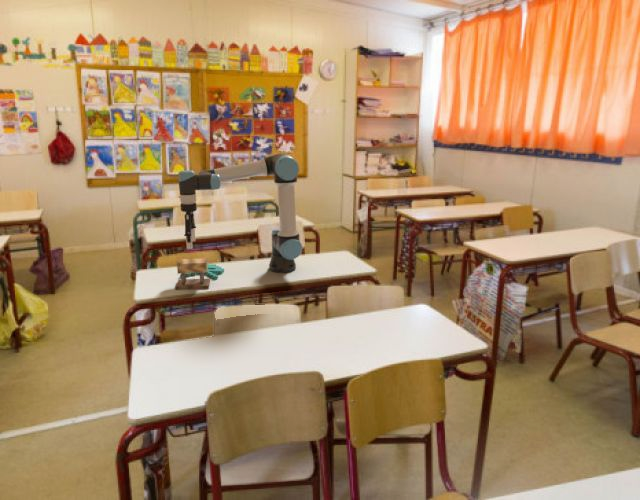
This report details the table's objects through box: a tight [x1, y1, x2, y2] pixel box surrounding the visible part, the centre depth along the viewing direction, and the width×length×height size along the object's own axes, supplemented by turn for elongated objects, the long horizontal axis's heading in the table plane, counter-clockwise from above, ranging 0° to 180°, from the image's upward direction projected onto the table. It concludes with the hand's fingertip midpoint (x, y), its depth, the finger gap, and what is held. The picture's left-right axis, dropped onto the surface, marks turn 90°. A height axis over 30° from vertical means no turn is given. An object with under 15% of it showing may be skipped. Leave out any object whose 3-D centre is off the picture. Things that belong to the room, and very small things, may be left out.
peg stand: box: [175, 273, 211, 291], centre depth 247 cm, size 16×11×8 cm
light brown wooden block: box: [176, 257, 208, 275], centre depth 245 cm, size 14×8×5 cm, turn 101°
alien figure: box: [179, 263, 225, 280], centre depth 267 cm, size 20×2×20 cm
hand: (191, 244), depth 242 cm, fingers open, 13 cm apart
